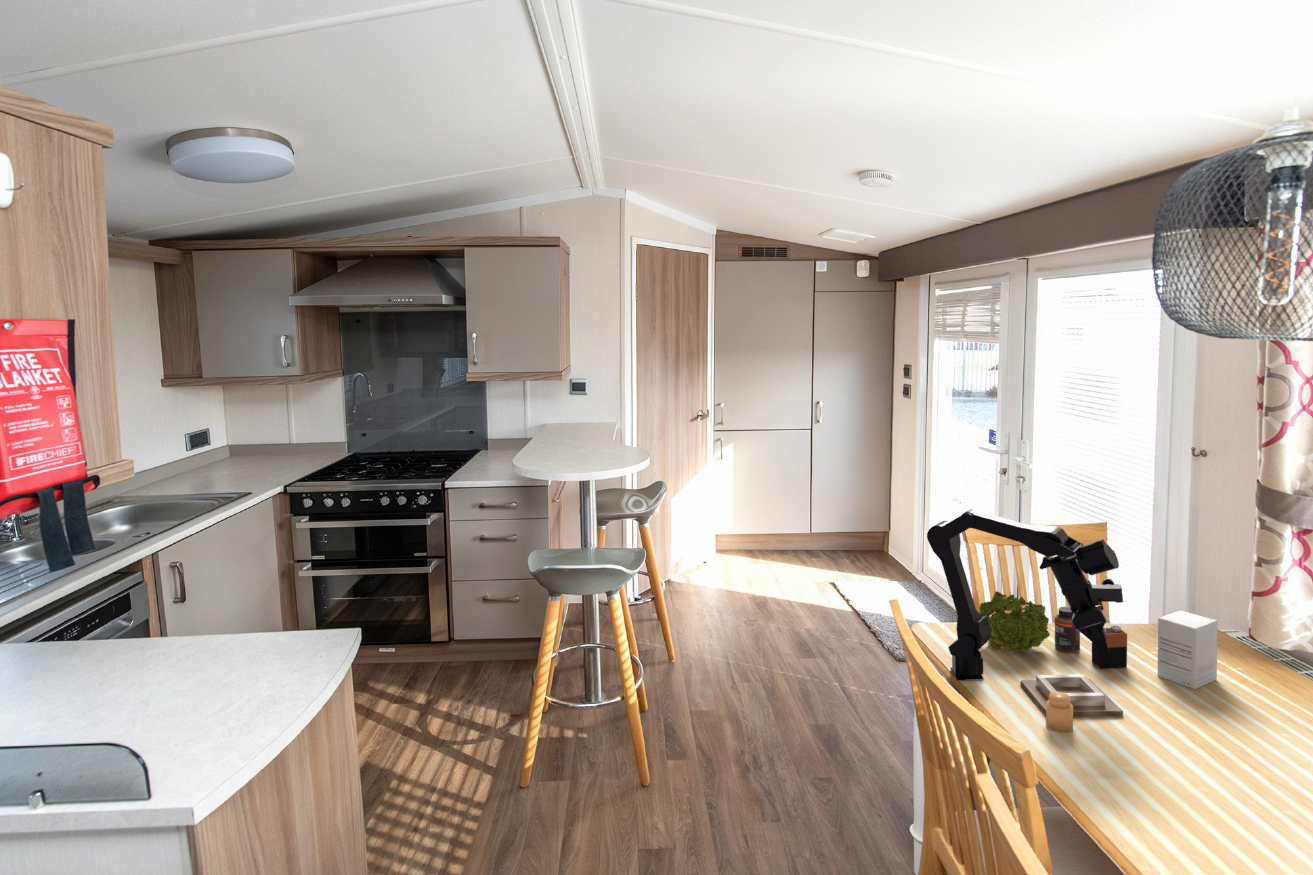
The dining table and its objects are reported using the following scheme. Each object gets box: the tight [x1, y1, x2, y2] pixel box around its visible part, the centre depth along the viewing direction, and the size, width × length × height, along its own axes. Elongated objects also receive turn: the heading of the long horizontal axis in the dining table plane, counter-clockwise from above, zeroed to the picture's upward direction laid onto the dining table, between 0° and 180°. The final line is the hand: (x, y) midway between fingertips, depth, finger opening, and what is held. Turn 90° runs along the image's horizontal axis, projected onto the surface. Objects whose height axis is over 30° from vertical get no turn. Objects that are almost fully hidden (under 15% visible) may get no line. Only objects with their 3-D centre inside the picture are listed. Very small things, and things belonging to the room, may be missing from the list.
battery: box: [1091, 625, 1128, 670], centre depth 194 cm, size 4×7×10 cm, turn 88°
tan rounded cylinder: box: [1045, 692, 1074, 733], centre depth 167 cm, size 5×5×7 cm
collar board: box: [1020, 673, 1124, 718], centre depth 179 cm, size 16×16×4 cm
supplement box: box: [1157, 610, 1218, 690], centre depth 184 cm, size 9×9×15 cm
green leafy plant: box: [978, 590, 1051, 653], centre depth 207 cm, size 18×16×16 cm
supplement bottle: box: [1054, 606, 1081, 654], centre depth 205 cm, size 6×6×11 cm
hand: (1105, 646), depth 172 cm, fingers open, 9 cm apart
